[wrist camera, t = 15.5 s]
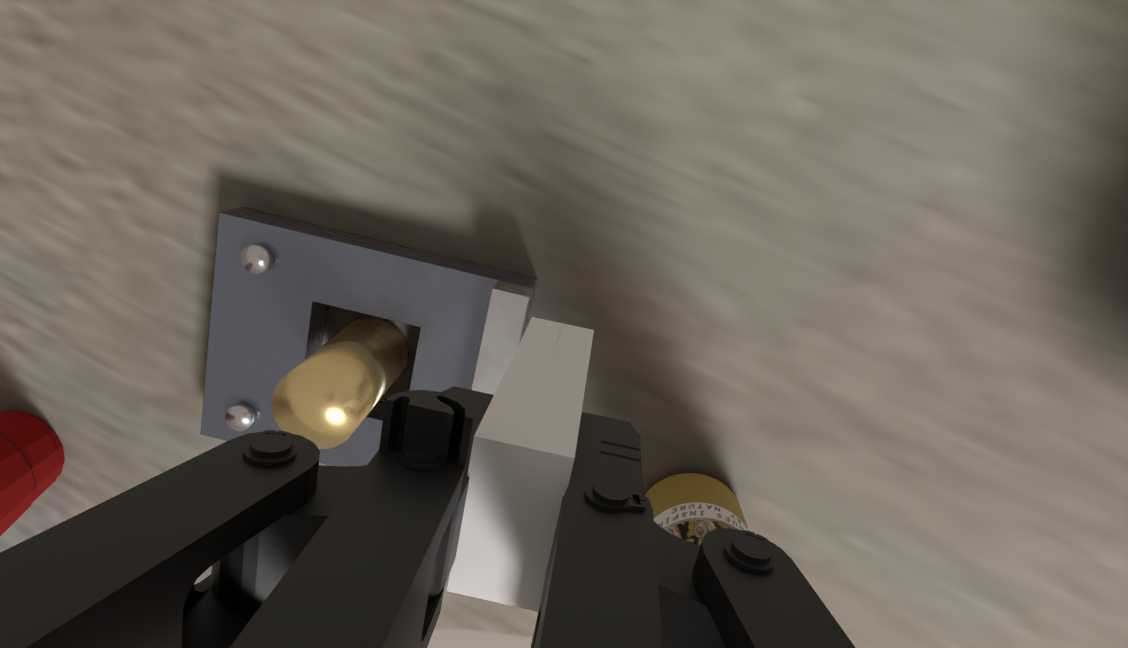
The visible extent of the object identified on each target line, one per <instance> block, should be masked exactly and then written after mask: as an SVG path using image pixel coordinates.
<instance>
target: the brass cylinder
mask: <svg viewBox="0 0 1128 648" xmlns="http://www.w3.org/2000/svg"><path fill="white" fill-rule="evenodd" d="M407 360H408V347H407V343H406V341H405V338H404V337H403V335H402V333H401V332H400V331H399V330H398V329H397V328H396V327H395V326H394V325H393V324H391V323H390V322H388V321H386V320H383V319H380V318H376V317H364V318H360V319H357V320H355V321H353V322H352V323H350V324H349V325H348V326H346V327H345V328H344V329H343V330H341V331H340V332H339V333H338V334H336V335H335V336H334V337H333V338H331V339H330V340H329V341H328V342H326V343H325V344H324V345H323V346H321V347H320V348H319V349H318V350H316V351H315V352H314V353H313V354H312V355H310V356H309V357H308V358H307V359H305V360H304V361H303V362H302V363H300V364H299V365H298V366H297V367H295V368H294V369H293V370H292V371H290V372H289V373H288V374H287V375H285V376H284V377H283V378H282V379H281V380H280V381H279V382H278V384H277V385H276V387H275V389H274V392H273V395H272V412H273V416H274V418H275V421H276V422H277V424H278V426H279V427H280V429H281V430H282V431H286V432H289V433H292V434H296V435H300V436H303V437H305V438H307V439H308V440H310V441H312V442H314V443H315V445H316V446H317V447H318V449H329V448H333V447H336V446H338V445H340V444H342V443H343V442H345V441H346V440H347V439H348V438H349V437H350V436H351V435H352V433H353V432H354V431H355V430H356V428H357V427H358V426H359V425H360V423H361V422H362V421H363V420H364V419H365V417H366V416H367V415H368V414H369V412H370V411H371V410H372V409H373V407H374V406H375V405H376V404H377V402H378V401H379V400H380V399H381V397H382V396H383V395H384V394H385V393H386V391H387V390H388V389H389V388H390V386H391V385H392V384H393V383H394V381H395V380H396V379H397V378H398V376H399V375H400V374H401V373H402V371H403V370H404V368H405V366H406V364H407Z"/></svg>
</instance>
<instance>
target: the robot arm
mask: <svg viewBox="0 0 1128 648" xmlns="http://www.w3.org/2000/svg"><path fill="white" fill-rule="evenodd" d="M593 334H594V330H591V329H587V328H582V327H577V326H573V325H568V324H563V323H559V322H554V321H549V320H545V319H540V318H535V317H532V318H531V320H530V322H529V324H528V326H527V329H526V331H525V333H524V335H523V337H522V339H521V341H520V343H519V345H518V347H517V349H516V351H515V353H514V355H513V357H512V359H511V361H510V363H509V365H508V367H507V370H506V372H505V374H504V376H503V378H502V380H501V382H500V384H499V386H498V388H497V390H496V392H495V394H494V395H492V394H488V393H483V392H479V391H474V390H469V389H465V388H460V387H456V386H453V387H451V388H449V389H447V390H444V391H442V392H436V391H429V390H408V391H403V392H399V393H395V394H393V395H392V396H390V397H388V398H387V399H386V400H385V407H384V415H383V423H382V430H381V438H380V445H379V450H378V451H377V453H376V454H375V455H374V457H373V458H372V459H371V461H370V462H369V463H368V465H362V466H321V465H319V456H320V450H319V449H318V447H317V446H316V445H315V443H314V442H312V441H310V440H308V439H307V438H305V437H303V436H300V435H296V434H292V433H289V432H286V431H278V432H276V430H266V431H263V432H255V433H248V434H245V435H242V436H239V437H236V438H233V439H231V440H229V441H227V442H225V443H223V444H221V445H219V446H217V447H215V448H213V449H211V450H209V451H207V452H205V453H203V454H200V455H198V456H196V457H194V458H192V459H190V460H188V461H186V462H184V463H182V464H180V465H178V466H176V467H174V468H172V469H170V470H168V471H166V472H164V473H162V474H160V475H158V476H156V477H154V478H152V479H150V480H148V481H145V482H143V483H141V484H139V485H137V486H135V487H133V488H131V489H129V490H127V491H125V492H123V493H121V494H119V495H117V496H115V497H113V498H111V499H109V500H107V501H105V502H103V503H101V504H99V505H97V506H95V507H93V508H90V509H88V510H86V511H84V512H82V513H80V514H78V515H76V516H74V517H72V518H70V519H68V520H66V521H64V522H62V523H60V524H58V525H56V526H54V527H52V528H50V529H48V530H46V531H44V532H42V533H40V534H38V535H35V536H33V537H31V538H29V539H27V540H25V541H23V542H21V543H19V544H17V545H15V546H13V547H11V548H9V549H7V550H5V551H3V552H1V553H0V648H427V646H428V643H429V641H430V638H431V635H432V633H433V630H434V627H435V625H436V622H437V619H438V617H439V614H440V609H441V604H442V598H443V592H444V586H445V583H446V581H447V578H448V576H449V573H450V576H449V582H448V588H447V591H449V592H454V593H458V594H462V595H467V596H471V597H476V598H480V599H485V600H489V601H493V602H498V603H502V604H507V605H511V606H516V607H520V608H524V609H529V610H533V611H538V617H537V621H536V626H535V630H534V635H533V639H532V644H531V648H855V647H854V645H853V644H852V642H851V641H850V640H849V638H848V637H847V635H846V634H845V633H844V631H843V630H842V628H841V627H840V626H839V624H838V623H837V621H836V620H835V619H834V617H833V616H832V615H831V613H830V612H829V610H828V609H827V608H826V606H825V605H824V603H823V602H822V601H821V599H820V598H819V596H818V595H817V594H816V592H815V591H814V589H813V588H812V587H811V585H810V584H809V583H808V581H807V580H806V578H805V577H804V576H803V574H802V573H801V571H800V570H799V569H798V567H797V566H796V564H795V563H794V562H793V560H792V559H791V558H790V557H789V556H788V555H787V554H786V553H785V552H784V551H783V550H782V549H781V548H780V547H778V546H776V545H775V544H773V543H772V542H770V541H769V540H767V539H766V538H765V537H763V536H760V535H758V534H757V535H756V534H755V533H753V532H750V531H747V530H738V529H733V528H721V529H714V530H712V531H710V532H708V533H706V534H705V536H704V538H703V540H702V542H701V545H700V546H698V545H695V544H693V543H691V542H688V541H686V540H683V539H681V538H679V537H677V536H675V535H673V534H671V533H669V532H668V531H666V530H665V529H663V528H662V527H660V526H659V525H658V524H657V523H656V522H654V515H653V508H652V505H651V503H650V500H649V499H648V498H647V497H646V496H645V495H644V494H643V490H642V469H641V451H640V435H639V434H638V433H637V432H636V430H635V429H634V428H633V427H632V425H631V424H630V423H629V422H626V421H621V420H616V419H612V418H607V417H603V416H598V415H593V414H589V413H584V412H582V406H583V399H584V393H585V386H586V380H587V373H588V367H589V360H590V353H591V347H592V340H593ZM211 565H212V572H211V575H210V576H208V577H207V578H205V579H204V580H203V581H201V582H200V583H197V584H195V585H194V583H195V581H196V579H197V578H198V577H199V576H200V575H201V574H202V573H203V572H205V571H206V570H207V569H208V568H209V567H210V566H211Z"/></svg>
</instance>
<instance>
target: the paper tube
mask: <svg viewBox="0 0 1128 648" xmlns="http://www.w3.org/2000/svg"><path fill="white" fill-rule="evenodd" d="M645 496H646V497H647V498H648V499H649V500H650V503H651V505H652V508H653V515H654V522H656V523H657V524H658V525H659V526H660V527H662V528H663V529H665V530H666V531H668V532H669V533H671V534H673V535H675V536H677V537H679V538H681V539H683V540H686V541H688V542H691V543H693V544H695V545H698V546H700V545H701V542H702V540H703V538H704V536H705V534H706V533H708V532H710V531H712V530H714V529H721V528H733V529H738V530H747V531H749V530H748V527H747V524H746V522H745V519H744V516H743V513H742V510H741V507H740V505H739V502H738V500H737V499H736V497H735V496H734V494H733V493H732V492H731V490H730V489H729V488H728V487H727V486H726V485H724V484H723V483H722V482H720V481H718V480H717V479H714V478H712V477H710V476H707V475H703V474H697V473H682V474H677V475H673V476H670V477H667V478H665V479H663V480H661V481H659V482H658V483H656V484H655V485H654V486H652V487H651V488H650V489H649V490H648V491H647V493H646V494H645Z"/></svg>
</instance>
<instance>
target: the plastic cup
mask: <svg viewBox="0 0 1128 648" xmlns="http://www.w3.org/2000/svg"><path fill="white" fill-rule="evenodd" d="M64 461H65V460H64V454H63V448H62V445H61V443H60V441H59V439H58V438H57V436H56V434H55V432H54V431H53V430H52V429H51V428H50V427H48V426H47V425H46V424H45V423H44V422H43V421H42V420H41V419H38V418H36V417H34V416H32V415H30V414H27V413H25V412H15V411H7V412H0V536H1V535H2V534H3V533H4V532H5V531H6V530H7V529H8V528H9V527H10V526H11V525H12V524H13V523H14V522H15V521H16V520H17V519H18V518H19V517H20V516H21V515H22V514H23V513H24V512H25V511H26V510H27V509H28V508H29V507H30V506H31V503H32V502H33V501H34V500H35V499H37V498H38V497H39V496H40V495H41V494H42V493H43V492H44V491H45V490H46V489H47V488H48V487H49V486H50V485H51V484H52V483H53V482H54V481H55V480H56V478H57V476H58V475H60V474H61V470H62V467H63V464H64Z"/></svg>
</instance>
